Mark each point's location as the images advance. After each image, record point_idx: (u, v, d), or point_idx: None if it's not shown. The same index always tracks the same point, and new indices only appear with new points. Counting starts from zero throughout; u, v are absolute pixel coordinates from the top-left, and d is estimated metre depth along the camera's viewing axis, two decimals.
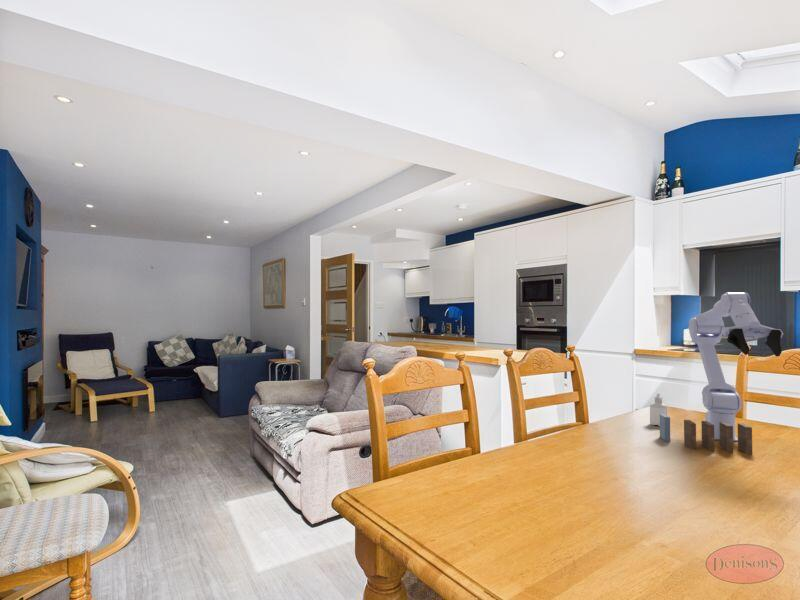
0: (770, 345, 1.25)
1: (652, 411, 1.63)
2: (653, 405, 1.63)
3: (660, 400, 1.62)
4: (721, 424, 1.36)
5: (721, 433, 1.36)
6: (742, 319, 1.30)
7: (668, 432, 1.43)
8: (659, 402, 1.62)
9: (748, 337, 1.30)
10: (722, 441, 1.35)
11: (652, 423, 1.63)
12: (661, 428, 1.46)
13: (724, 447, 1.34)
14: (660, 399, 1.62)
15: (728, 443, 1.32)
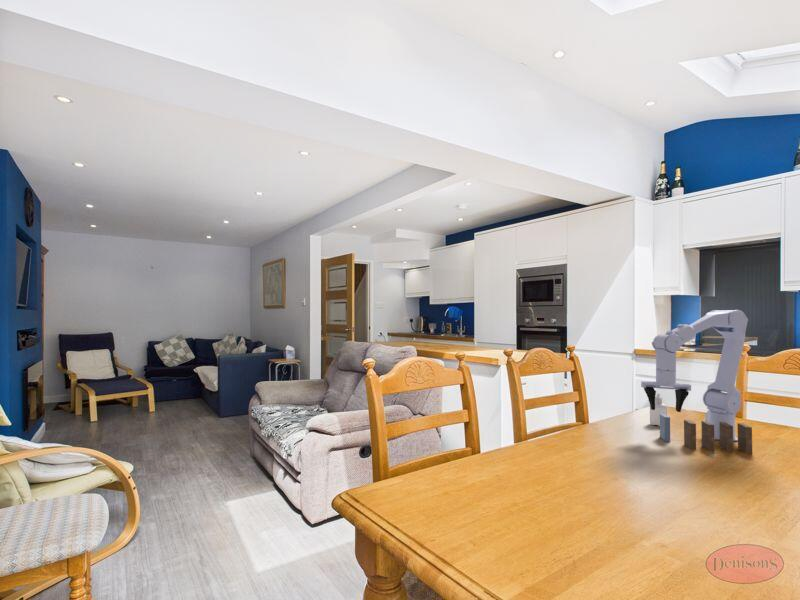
0: (676, 397, 1.45)
1: (652, 411, 1.63)
2: None
3: (660, 400, 1.62)
4: (721, 424, 1.36)
5: (721, 433, 1.36)
6: (661, 375, 1.43)
7: (668, 432, 1.43)
8: (659, 402, 1.62)
9: None
10: (722, 441, 1.35)
11: (652, 423, 1.63)
12: (661, 428, 1.46)
13: (724, 447, 1.34)
14: (660, 399, 1.62)
15: (728, 443, 1.32)
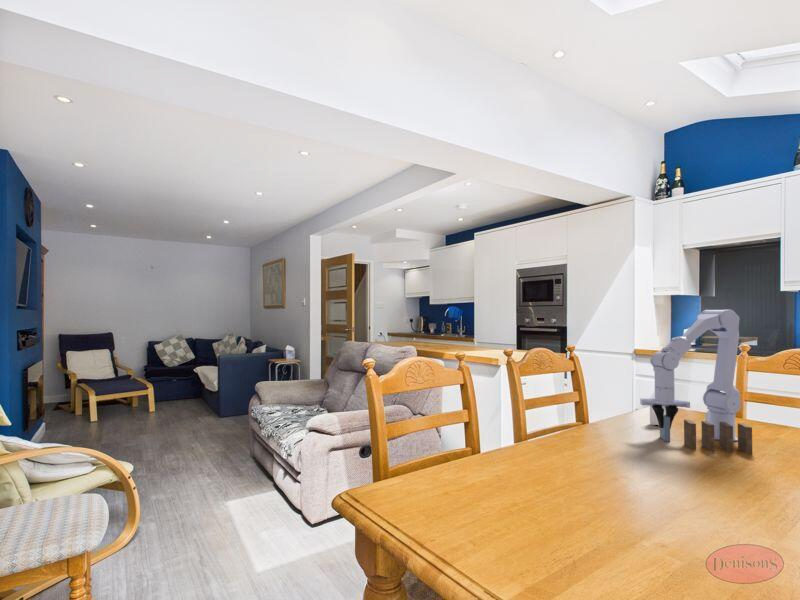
0: (666, 414, 1.46)
1: (652, 411, 1.63)
2: None
3: None
4: (721, 424, 1.36)
5: (721, 433, 1.36)
6: (660, 393, 1.44)
7: (668, 432, 1.43)
8: None
9: None
10: (722, 441, 1.35)
11: (652, 423, 1.63)
12: (661, 428, 1.46)
13: (724, 447, 1.34)
14: None
15: (728, 443, 1.32)
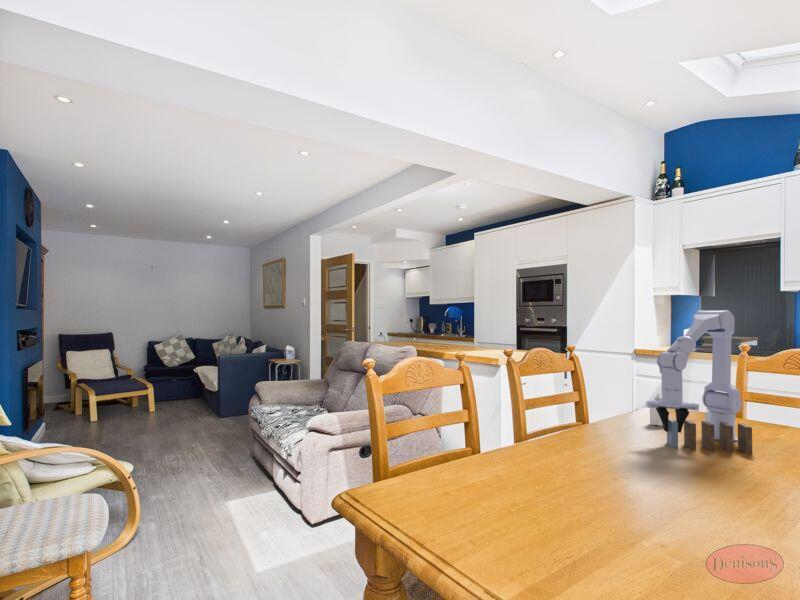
0: (676, 417, 1.39)
1: (652, 411, 1.63)
2: None
3: (660, 400, 1.62)
4: (721, 424, 1.36)
5: (721, 433, 1.36)
6: (667, 395, 1.37)
7: (676, 438, 1.36)
8: None
9: None
10: (722, 441, 1.35)
11: (652, 423, 1.63)
12: (668, 434, 1.39)
13: (724, 447, 1.34)
14: (660, 399, 1.62)
15: (728, 443, 1.32)
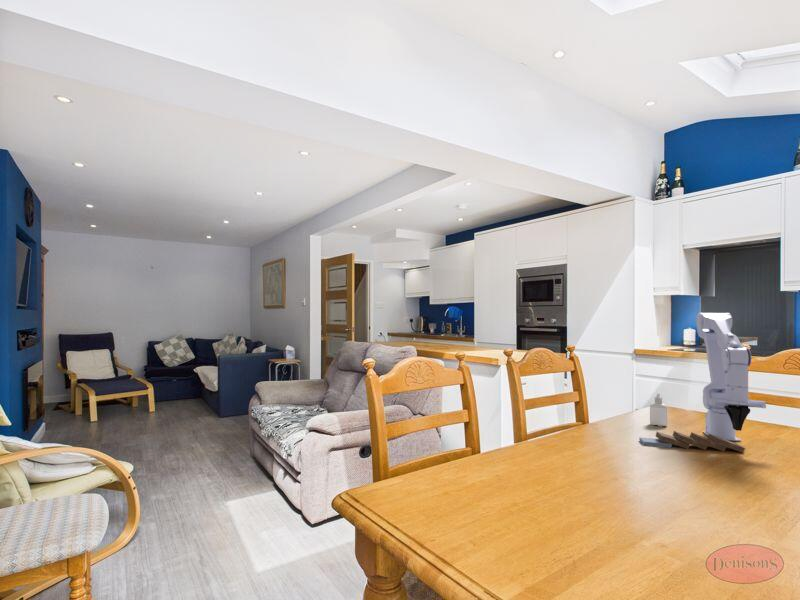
0: None
1: (652, 411, 1.63)
2: (653, 405, 1.63)
3: (660, 400, 1.62)
4: (693, 438, 1.38)
5: None
6: (732, 392, 1.33)
7: (661, 444, 1.37)
8: (659, 402, 1.62)
9: None
10: None
11: (652, 423, 1.63)
12: None
13: None
14: (660, 399, 1.62)
15: (714, 447, 1.33)
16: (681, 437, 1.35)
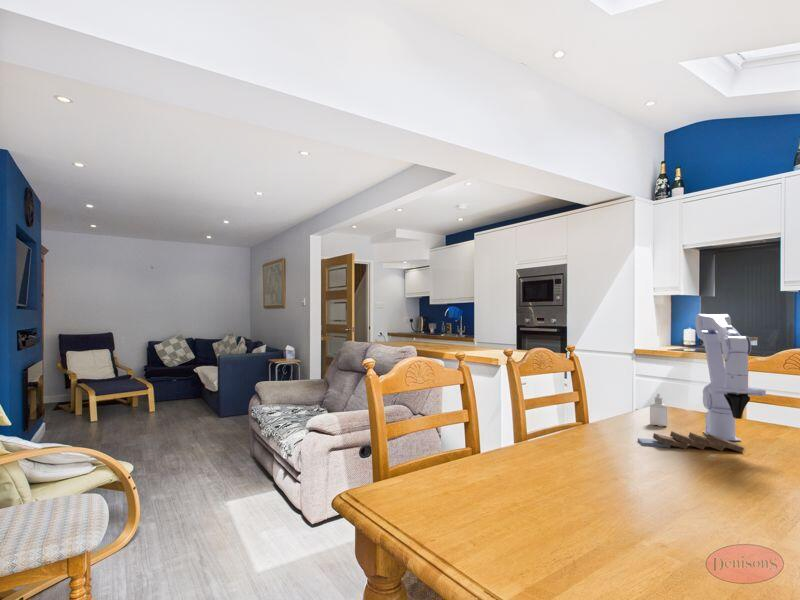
0: None
1: (652, 411, 1.63)
2: (653, 405, 1.63)
3: (660, 400, 1.62)
4: (691, 438, 1.38)
5: None
6: (732, 381, 1.33)
7: (660, 445, 1.37)
8: (659, 402, 1.62)
9: None
10: None
11: (652, 423, 1.63)
12: None
13: None
14: (660, 399, 1.62)
15: (713, 446, 1.33)
16: (680, 437, 1.35)
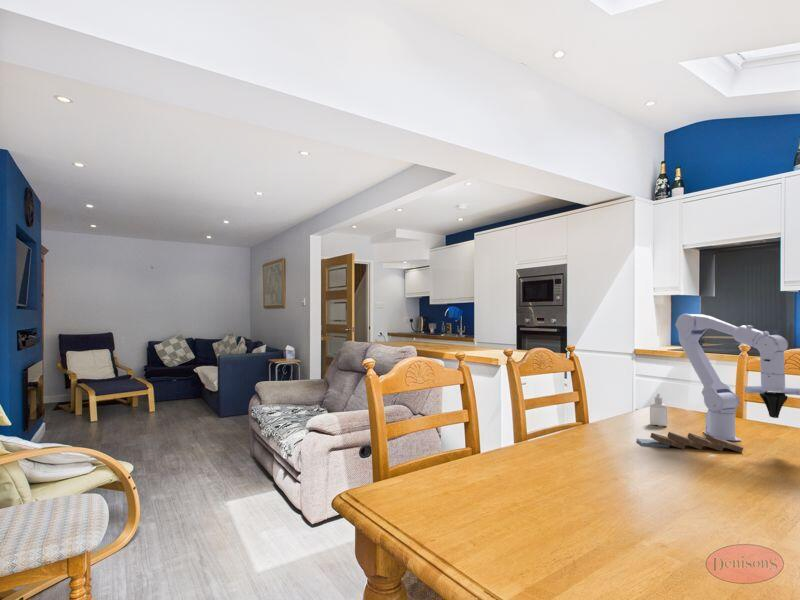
0: None
1: (652, 411, 1.63)
2: (653, 405, 1.63)
3: (660, 400, 1.62)
4: None
5: None
6: (769, 380, 1.33)
7: (659, 445, 1.37)
8: (659, 402, 1.62)
9: None
10: None
11: (652, 423, 1.63)
12: None
13: None
14: (660, 399, 1.62)
15: (712, 447, 1.33)
16: (678, 438, 1.35)
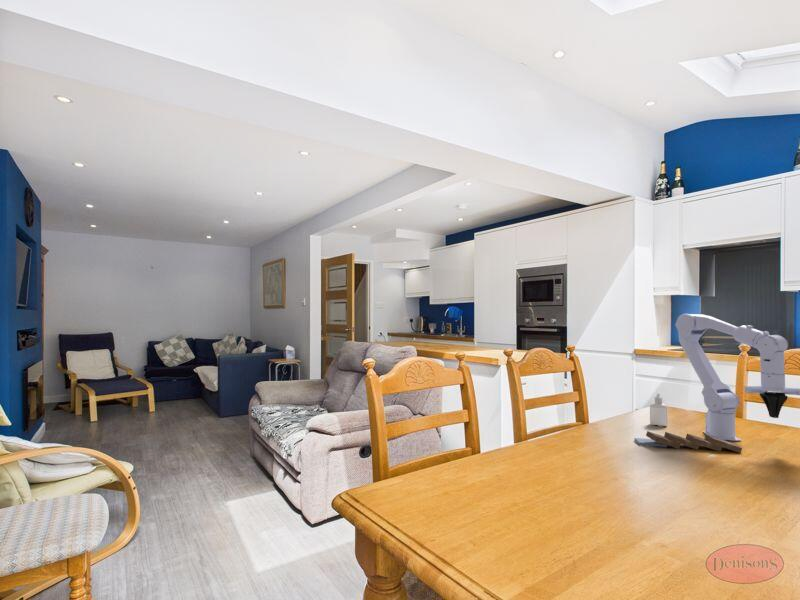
0: None
1: (652, 411, 1.63)
2: (653, 405, 1.63)
3: (660, 400, 1.62)
4: (689, 439, 1.37)
5: None
6: (769, 380, 1.33)
7: (656, 445, 1.37)
8: (659, 402, 1.62)
9: None
10: None
11: (652, 423, 1.63)
12: None
13: None
14: (660, 399, 1.62)
15: (711, 447, 1.33)
16: (675, 438, 1.35)
